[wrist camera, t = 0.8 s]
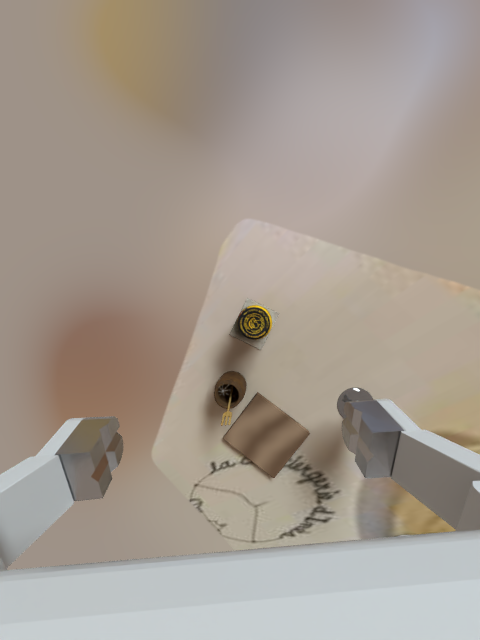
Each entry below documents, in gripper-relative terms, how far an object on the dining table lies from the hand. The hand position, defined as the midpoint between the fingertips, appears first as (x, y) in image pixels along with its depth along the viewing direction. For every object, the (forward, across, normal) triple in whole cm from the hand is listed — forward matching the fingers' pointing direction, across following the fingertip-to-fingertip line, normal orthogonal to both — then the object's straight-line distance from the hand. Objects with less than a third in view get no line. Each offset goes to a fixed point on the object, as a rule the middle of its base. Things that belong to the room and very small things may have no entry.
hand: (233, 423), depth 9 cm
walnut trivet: (+34, +6, -33) cm, 48 cm away
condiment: (+42, +5, -11) cm, 43 cm away
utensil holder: (+39, 0, -23) cm, 45 cm away
